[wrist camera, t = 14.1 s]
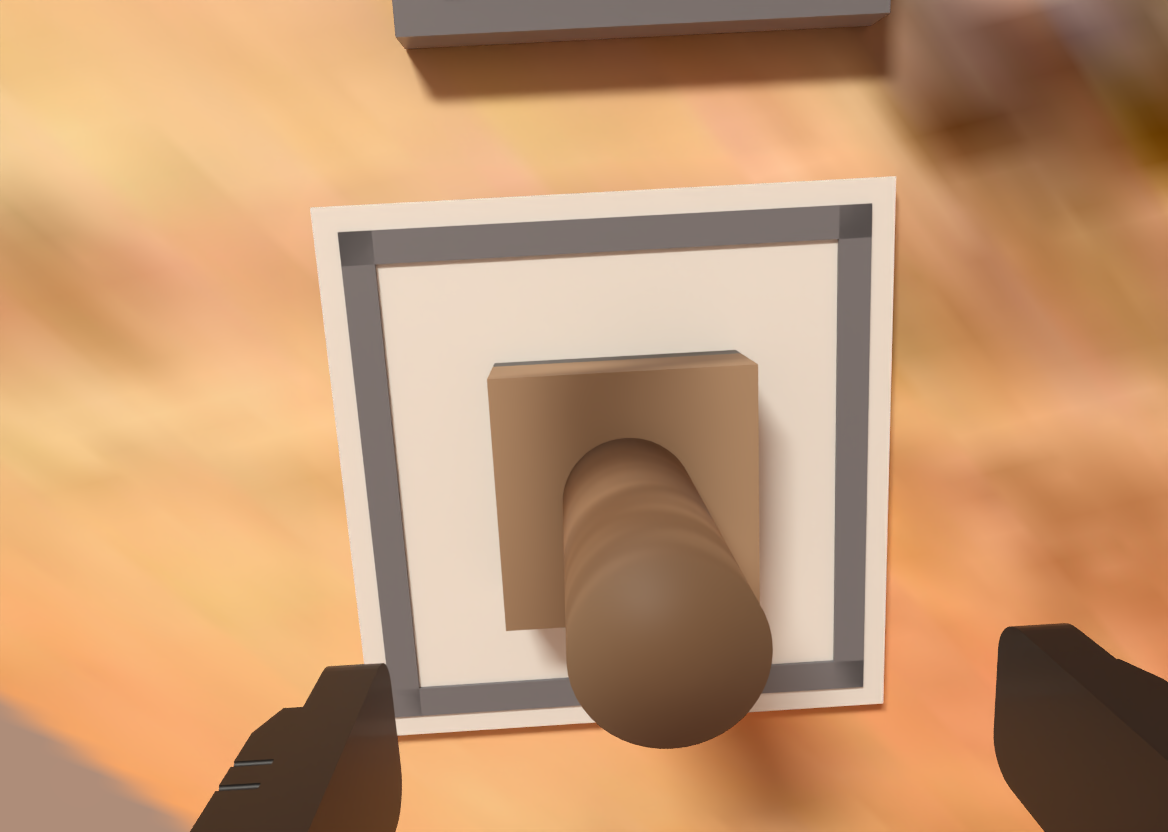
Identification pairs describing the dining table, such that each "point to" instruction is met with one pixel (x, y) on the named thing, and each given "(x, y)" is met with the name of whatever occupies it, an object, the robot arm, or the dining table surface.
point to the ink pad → (613, 19)
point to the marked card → (607, 329)
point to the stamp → (637, 533)
